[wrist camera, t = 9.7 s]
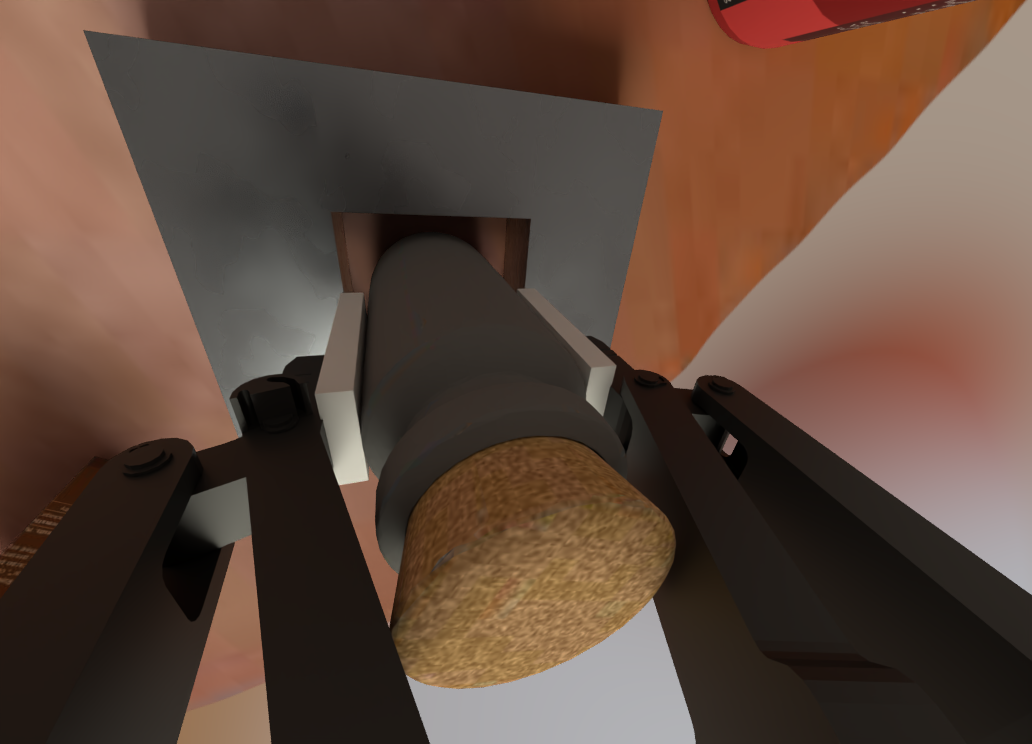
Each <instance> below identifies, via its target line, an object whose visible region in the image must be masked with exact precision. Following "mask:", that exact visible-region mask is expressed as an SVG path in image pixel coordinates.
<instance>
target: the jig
mask: <svg viewBox="0 0 1032 744" xmlns="http://www.w3.org/2000/svg"><path fill="white" fill-rule="evenodd" d="M83 31H84V33H85V36H86V39H87V41H88V44H89V47H90V49H91V52H92V54H93V57H94V60H95V62H96V65H97V67H98V70H99V73H100V75H101V78H102V81H103V83H104V86H105V88H106V91H107V94H108V96H109V99H110V102H111V104H112V107H113V109H114V112H115V115H116V117H117V120H118V123H119V125H120V128H121V130H122V133H123V136H124V138H125V141H126V144H127V146H128V149H129V151H130V154H131V157H132V159H133V162H134V165H135V167H136V170H137V172H138V175H139V178H140V180H141V183H142V185H143V188H144V191H145V193H146V196H147V199H148V201H149V204H150V206H151V209H152V212H153V214H154V217H155V220H156V222H157V225H158V227H159V230H160V233H161V235H162V238H163V241H164V243H165V246H166V248H167V251H168V254H169V256H170V259H171V262H172V264H173V267H174V269H175V272H176V275H177V277H178V280H179V282H180V285H181V288H182V290H183V293H184V296H185V298H186V301H187V303H188V306H189V309H190V311H191V314H192V317H193V319H194V322H195V324H196V327H197V330H198V332H199V335H200V338H201V340H202V343H203V345H204V348H205V351H206V353H207V356H208V359H209V361H210V364H211V366H212V369H213V372H214V374H215V377H216V379H217V382H218V385H219V387H220V390H221V393H222V395H223V398H224V400H225V403H226V406H227V408H228V411H229V414H230V416H231V419H232V421H233V424H234V427H235V429H236V432H237V435H238V437H239V438H240V437H242V432H241V429H240V427H239V424H238V421H237V419H236V416H235V413H234V410H233V408H232V405H231V402H230V400H229V399H230V396H231V393H232V392H233V391H234V390H235V389H236V388H237V387H239V386H240V385H242V384H244V383H246V382H248V381H250V380H252V379H255V378H259V377H262V376H266V375H274V374H282V372H283V370H284V368H285V366H286V365H287V364H288V363H289V362H291V361H292V360H293V359H295V358H296V357H298V356H313V355H325V352H326V348H327V344H328V340H329V336H330V332H331V328H332V325H333V321H334V317H335V313H336V309H337V305H338V301H339V297H340V293H353V289H352V282H351V275H350V268H349V262H348V255H347V248H346V241H345V235H344V228H343V221H342V214H341V212H352V213H380V214H409V215H438V216H467V217H496V218H507V227H506V244H505V261H504V278H503V279H504V280H505V281H506V282H507V283H508V284H509V285H510V286H511V288H512V289H513V290H514V291H515V292H516V293H517V289H530V288H535V289H536V290H537V291H538V292H539V293H540V294H541V295H542V296H543V297H544V298H545V299H546V300H547V301H548V302H549V303H551V304H552V305H553V306H554V307H555V308H556V309H557V310H558V311H559V312H560V313H561V314H562V315H563V316H564V317H565V318H567V319H568V320H569V321H570V322H571V323H572V324H573V325H574V326H575V327H576V328H577V329H578V330H579V331H580V332H581V333H582V334H584V335H585V336H592V337H594V338H596V339H598V340H600V341H603V342H604V343H605V344H606V345H607V346H608V347H609V348H610V346H611V342H612V337H613V333H614V328H615V324H616V319H617V315H618V310H619V306H620V301H621V297H622V292H623V288H624V283H625V279H626V274H627V270H628V265H629V261H630V257H631V252H632V248H633V243H634V239H635V234H636V230H637V225H638V221H639V216H640V212H641V207H642V203H643V198H644V194H645V189H646V185H647V180H648V176H649V171H650V167H651V162H652V158H653V153H654V149H655V145H656V140H657V136H658V131H659V127H660V122H661V118H662V113H663V111H659V110H652V109H645V108H638V107H631V106H623V105H616V104H609V103H602V102H595V101H588V100H580V99H573V98H566V97H559V96H552V95H545V94H537V93H530V92H523V91H516V90H509V89H501V88H494V87H487V86H480V85H473V84H466V83H458V82H451V81H444V80H437V79H430V78H422V77H415V76H408V75H401V74H394V73H387V72H379V71H372V70H365V69H358V68H351V67H343V66H336V65H329V64H322V63H315V62H308V61H300V60H293V59H286V58H279V57H272V56H264V55H257V54H250V53H243V52H236V51H229V50H221V49H214V48H207V47H200V46H193V45H185V44H178V43H171V42H164V41H157V40H150V39H142V38H135V37H128V36H121V35H114V34H106V33H99V32H92V31H85V30H83Z"/></svg>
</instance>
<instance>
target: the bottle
mask: <svg viewBox="0 0 1032 744" xmlns="http://www.w3.org/2000/svg"><path fill="white" fill-rule="evenodd" d="M361 440H362V447H363V451H364V454H365V457H366V460H367V463H368V464H369V466H370V468H371V470H372V471H373V473H374V474H375V475H376V477H377V478H378V479H379V482H378V486H377V490H376V512H375V525H376V536H377V540H378V544H379V548H380V551H381V553H382V555H383V557H384V558H385V560H386V561H387V563H388V564H389V565H390V567H391V568H392V569H393V570H394V571H395V572H397V573H398V574H399V576H398V581H397V587H396V593H395V598H394V604H393V610H392V615H391V621H390V627H389V629H390V632H391V635H392V638H393V640H394V643H395V646H396V649H397V652H398V655H399V657H400V660H401V663H402V666H403V669H404V672H405V674H406V675H408V676H409V677H411V678H413V679H414V680H416V681H419V682H421V683H424V684H427V685H432V686H438V687H445V688H456V689H463V688H480V687H486V686H492V685H497V684H502V683H508V682H512V681H515V680H518V679H521V678H524V677H528V676H531V675H534V674H537V673H540V672H543V671H545V670H547V669H549V668H552V667H554V666H556V665H559V664H561V663H563V662H565V661H568V660H570V659H572V658H574V657H576V656H577V655H579V654H581V653H583V652H584V651H586V650H588V649H590V648H591V647H593V646H595V645H597V644H598V643H600V642H602V641H603V640H604V639H606V638H607V637H609V636H610V635H611V634H613V633H614V632H615V631H616V630H618V629H620V628H621V627H623V626H624V625H625V624H626V623H627V622H628V621H629V620H630V619H632V618H633V617H634V616H635V615H636V614H637V613H638V612H639V611H641V609H642V608H643V607H644V606H645V605H646V604H647V603H648V602H649V601H650V599H652V597H653V596H654V595H655V594H656V592H657V591H658V589H659V588H660V586H661V585H662V583H663V582H664V580H665V579H666V577H667V575H668V572H669V570H670V568H671V566H672V564H673V561H674V555H675V548H676V538H675V532H674V529H673V527H672V525H671V523H670V522H669V520H668V518H667V516H666V515H665V514H664V513H663V512H662V511H661V510H660V509H659V508H658V507H656V506H655V505H654V504H653V503H652V502H651V501H650V500H648V499H647V498H646V497H645V496H644V495H643V494H642V493H641V492H639V491H638V490H637V489H636V488H635V487H634V486H633V485H631V484H630V483H629V482H628V481H627V459H626V454H625V450H624V448H623V446H622V444H621V441H620V439H619V437H618V435H617V434H616V433H615V431H614V430H613V429H612V428H611V426H610V425H609V424H608V423H607V421H606V420H605V419H604V417H603V416H602V415H601V414H600V413H599V412H598V411H597V410H596V409H595V408H594V407H593V406H592V405H591V404H590V403H589V402H588V401H586V391H585V386H584V381H583V377H582V374H581V372H580V370H579V368H578V366H577V365H576V363H575V361H574V360H573V358H572V357H571V355H570V353H569V352H568V351H567V350H566V349H565V347H564V346H563V345H562V344H561V343H560V341H559V340H558V339H557V338H556V337H555V336H554V335H553V333H552V332H551V331H550V330H549V329H548V328H547V327H546V326H545V324H544V323H543V322H542V321H541V320H540V319H539V318H538V317H537V315H536V314H535V313H534V312H533V311H532V310H531V309H530V308H529V307H528V305H527V304H526V303H525V302H524V301H523V300H522V299H521V298H520V296H519V295H518V294H517V293H516V292H515V291H514V290H513V289H512V288H511V286H510V285H509V284H508V283H507V282H506V281H505V280H504V279H503V278H502V276H501V275H500V274H499V273H498V272H497V271H496V270H495V269H494V268H493V267H492V266H491V265H490V264H489V262H488V261H487V260H486V259H485V258H484V257H483V256H482V255H481V254H480V253H479V252H478V251H477V250H476V249H475V248H473V247H472V246H471V245H470V244H468V243H467V242H465V241H463V240H461V239H460V238H458V237H456V236H453V235H449V234H446V233H440V232H421V233H417V234H413V235H410V236H407V237H405V238H403V239H401V240H399V241H398V242H396V243H395V244H393V245H392V246H391V247H390V248H389V249H388V250H387V251H385V253H384V254H383V255H382V257H381V258H380V259H379V261H378V263H377V265H376V267H375V269H374V272H373V274H372V278H371V283H370V290H369V301H368V314H367V327H366V339H365V352H364V365H363V383H362V402H361Z"/></svg>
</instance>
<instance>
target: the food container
mask: <svg viewBox="0 0 1032 744" xmlns="http://www.w3.org/2000/svg"><path fill="white" fill-rule="evenodd" d="M108 461H109V460H105V459H102V458H98V457H94V458H93V459H92V460H91V461H90V462H89V463H88V464H87V465H86V466H85V467H84V468H83V469H82V470H81V471H80V473H79V474H78V475H77V476H76V477H75V478H74V479H73V480H72V481H71V482H70V483H69V484H68V485H67V486H66V487H65V488H64V489H63V490H62V491H61V492H60V493H59V494H58V495H57V496H56V497H55V499H54V500H53V501H52V502H51V503H50V504H49V505H48V506H47V507H46V508H45V509H44V510H43V511H42V512H41V513H40V514H39V515H38V516H37V517H36V518H35V519H34V520H33V521H32V522H31V524H30V525H29V526H28V527H27V528H26V529H25V530H24V531H23V532H22V533H21V534H20V535H19V536H18V537H17V538H16V539H15V540H14V541H13V542H12V543H11V544H10V545H9V546H8V547H7V548H6V550H5V551H4V552H3V553H2V554H1V555H0V599H1V597H2V596H3V595H4V593H5V592H6V591H7V589H8V588H9V587H10V585H11V584H12V583H13V582H14V580H15V579H16V578H17V576H18V575H19V574H20V572H21V571H22V570H23V569H24V567H25V566H26V565H27V563H28V562H29V561H30V559H31V558H32V557H33V555H34V554H35V553H36V552H37V550H38V549H39V548H40V546H41V545H42V544H43V542H44V541H45V540H46V539H47V537H48V536H49V535H50V533H51V532H52V531H53V529H54V528H55V527H56V525H57V524H58V523H59V522H60V520H61V519H62V518H63V516H64V515H65V514H66V512H67V511H68V510H69V509H70V507H71V506H72V505H73V503H74V502H75V501H76V499H77V498H78V497H79V495H80V494H81V493H82V492H83V490H84V489H85V488H86V486H87V485H88V484H89V482H90V481H91V480H92V479H93V477H94V476H95V475H96V473H97V472H98V471H99V469H100V468H101V467H103V466H104V465H105V464H106V463H107V462H108Z"/></svg>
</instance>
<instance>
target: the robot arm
mask: <svg viewBox="0 0 1032 744" xmlns="http://www.w3.org/2000/svg"><path fill="white" fill-rule="evenodd" d="M517 294H518V295H519V296H520V298H521V299H522V300H523V301H524V302H525V303H526V304H527V305H528V307H529V308H530V309H531V310H532V311H533V312H534V313H535V314H536V315H537V317H538V318H539V319H540V320H541V321H542V322H543V323H544V324H545V326H546V327H547V328H548V329H549V330H550V331H551V332H552V333H553V335H554V336H555V337H556V338H557V339H558V340H559V341H560V343H561V344H562V345H563V346H564V347H565V349H566V350H567V351H568V352H569V353H570V355H571V357H572V358H573V360H574V361H575V363H576V365H577V366H578V368H579V370H580V372H581V374H582V377H583V381H584V386H585V391H586V401H588V402H589V403H590V404H591V405H592V406H593V407H594V408H595V409H596V410H597V411H598V412H599V413H600V414H601V415H602V416H603V417H604V419H605V420H606V421H607V423H608V424H609V425H610V426H611V428H612V429H613V430H614V431H615V433H616V434H617V435H618V437H619V439H620V441H621V444H622V446H623V448H624V450H625V454H626V459H627V481H628V482H629V483H630V484H631V485H633V486H634V487H635V488H636V489H637V490H638V491H639V492H641V493H642V494H643V495H644V496H645V497H646V498H647V499H648V500H650V501H651V502H652V503H653V504H654V505H655V506H656V507H658V508H659V509H660V510H661V511H662V512H663V513H664V514H665V515H666V516H667V518H668V520H669V522H670V523H671V525H672V527H673V529H674V532H675V538H676V548H675V555H674V561H673V564H672V566H671V568H670V570H669V572H668V575H667V577H666V579H665V580H664V582H663V583H662V585H661V586H660V588H659V589H658V591H657V592H656V594H655V595H654V596H653V600H654V603H655V606H656V609H657V612H658V615H659V618H660V622H661V625H662V628H663V631H664V634H665V638H666V641H667V644H668V647H669V650H670V653H671V657H672V659H673V663H674V666H675V669H676V672H677V676H678V679H679V682H680V685H681V688H682V691H683V694H684V698H685V701H686V704H687V707H688V710H689V714H690V717H691V720H692V724H693V728H694V732H695V739H696V744H1032V595H1031V594H1029V593H1028V592H1027V591H1025V590H1024V589H1022V588H1021V587H1020V586H1018V585H1017V584H1015V583H1014V582H1013V581H1011V580H1010V579H1008V578H1007V577H1006V576H1004V575H1003V574H1002V573H1000V572H999V571H997V570H996V569H995V568H993V567H992V566H990V565H989V564H988V563H986V562H985V561H983V560H982V559H980V558H979V557H978V556H976V555H975V554H974V553H972V552H971V551H969V550H968V549H967V548H965V547H964V546H963V545H961V544H960V543H958V542H957V541H956V540H954V539H953V538H951V537H950V536H949V535H947V534H946V533H944V532H943V531H942V530H940V529H939V528H937V527H936V526H935V525H933V524H932V523H931V522H929V521H928V520H926V519H925V518H924V517H922V516H921V515H920V514H918V513H917V512H915V511H914V510H913V509H911V508H910V507H908V506H907V505H905V504H904V503H903V502H901V501H900V500H899V499H897V498H896V497H894V496H893V495H892V494H890V493H889V492H888V491H886V490H885V489H883V488H882V487H881V486H879V485H878V484H876V483H875V482H874V481H872V480H871V479H869V478H868V477H867V476H865V475H864V474H863V473H861V472H860V471H858V470H857V469H855V468H854V467H853V466H851V465H850V464H849V463H847V462H846V461H844V460H843V459H842V458H840V457H839V456H837V455H836V454H835V453H833V452H832V451H831V450H829V449H828V448H826V447H825V446H823V445H822V444H821V443H819V442H818V441H817V440H815V439H814V438H812V437H811V436H810V435H808V434H807V433H806V432H804V431H803V430H801V429H800V428H799V427H797V426H796V425H794V424H793V423H792V422H790V421H789V420H787V419H786V418H784V417H783V416H782V415H780V414H779V413H778V412H776V411H775V410H773V409H772V408H771V407H769V406H768V405H767V404H765V403H764V402H762V401H761V400H760V399H758V398H757V397H755V396H754V395H753V394H751V393H750V392H749V391H747V390H746V389H744V388H743V387H742V386H740V385H738V384H737V383H735V382H733V381H731V380H728V379H727V378H725V377H721V376H720V377H719V376H716V375H714V376H708V375H705V376H702V377H699V378H698V379H697V381H696V383H695V386H694V389H693V390H689V389H679V388H673V386H672V385H671V383H670V382H669V381H668V380H667V379H666V378H665V377H663V376H661V375H659V374H657V373H654V372H651V371H646V370H634V369H633V368H632V367H631V366H630V365H628V364H627V363H626V362H625V361H624V360H623V359H622V358H621V357H619V356H617V354H616V353H615V352H614V351H613V350H610V348H609V347H608V346H607V345H606V344H605V343H604V342H603V341H600V340H598V339H596V338H594V337H592V336H585V335H584V334H582V333H581V332H580V331H579V330H578V329H577V328H576V327H575V326H574V325H573V324H572V323H571V322H570V321H569V320H568V319H567V318H565V317H564V316H563V315H562V314H561V313H560V312H559V311H558V310H557V309H556V308H555V307H554V306H553V305H552V304H551V303H549V302H548V301H547V300H546V299H545V298H544V297H543V296H542V295H541V294H540V293H539V292H538V291H537V290H536V289H535V288H530V289H517ZM366 327H367V315H366V308H365V300H364V293H340V297H339V301H338V305H337V309H336V313H335V317H334V321H333V325H332V328H331V332H330V336H329V340H328V344H327V348H326V352H325V355H313V356H298V357H296V358H295V359H293V360H292V361H291V362H289V363H288V364H287V365H286V366H285V368H284V370H283V372H282V374H274V375H266V376H262V377H259V378H255V379H252V380H250V381H248V382H246V383H244V384H242V385H240V386H239V387H237V388H236V389H235V390H234V391H233V392H232V393H231V396H230V399H229V400H230V402H231V405H232V408H233V410H234V413H235V416H236V419H237V421H238V424H239V427H240V429H241V432H242V437H240V438H238V439H236V440H233V441H230V442H227V443H225V444H221V445H218V446H215V447H211V448H208V449H204V450H201V451H198V452H196V451H195V449H194V447H193V446H192V445H191V443H190V442H189V441H187V440H183V439H179V438H165V439H158V440H154V441H149V442H145V443H141V444H138V445H137V446H133V447H131V448H129V449H127V450H125V451H123V452H122V453H120V454H118V455H116V456H115V457H113V458H111V459H110V460H109V461H108V462H107V463H106V464H105V465H104V466H103V467H101V468H100V469H99V471H98V472H97V473H96V475H95V476H94V477H93V479H92V480H91V481H90V482H89V484H88V485H87V486H86V488H85V489H84V490H83V492H82V493H81V494H80V495H79V497H78V498H77V499H76V501H75V502H74V503H73V505H72V506H71V507H70V509H69V510H68V511H67V512H66V514H65V515H64V516H63V518H62V519H61V520H60V522H59V523H58V524H57V525H56V527H55V528H54V529H53V531H52V532H51V533H50V535H49V536H48V537H47V539H46V540H45V541H44V542H43V544H42V545H41V546H40V548H39V549H38V550H37V552H36V553H35V554H34V555H33V557H32V558H31V559H30V561H29V562H28V563H27V565H26V566H25V567H24V569H23V570H22V571H21V572H20V574H19V575H18V576H17V578H16V579H15V580H14V582H13V583H12V584H11V585H10V587H9V588H8V589H7V591H6V592H5V593H4V595H3V596H2V597H1V599H0V744H177V740H178V737H179V734H180V730H181V727H182V723H183V720H184V716H185V713H186V709H187V706H188V703H189V699H190V696H191V692H192V689H193V685H194V682H195V678H196V675H197V672H198V668H199V665H200V661H201V658H202V654H203V651H204V647H205V644H206V641H207V637H208V634H209V630H210V627H211V623H212V620H213V616H214V613H215V610H216V606H217V603H218V599H219V596H220V592H221V589H222V585H223V582H224V578H225V575H226V572H227V568H228V565H229V561H230V558H231V554H232V551H233V547H234V544H235V541H237V540H240V539H242V538H244V537H247V536H249V535H252V545H253V555H254V565H255V576H256V586H257V597H258V607H259V618H260V628H261V639H262V649H263V660H264V670H265V681H266V691H267V701H268V712H269V723H270V733H271V744H430V742H429V740H428V737H427V734H426V731H425V728H424V726H423V723H422V720H421V717H420V714H419V711H418V708H417V706H416V703H415V700H414V697H413V694H412V692H411V689H410V686H409V683H408V680H407V677H406V674H405V672H404V669H403V666H402V663H401V660H400V657H399V655H398V652H397V649H396V646H395V643H394V640H393V638H392V635H391V632H390V629H389V627H388V623H387V621H386V618H385V615H384V612H383V609H382V606H381V604H380V601H379V598H378V595H377V592H376V589H375V587H374V584H373V581H372V578H371V575H370V572H369V570H368V567H367V564H366V561H365V558H364V555H363V553H362V550H361V547H360V544H359V541H358V538H357V536H356V533H355V530H354V527H353V524H352V521H351V519H350V516H349V513H348V510H347V507H346V504H345V502H344V499H343V496H342V493H341V490H340V487H339V485H343V484H349V483H355V482H361V481H367V480H369V464H368V463H367V460H366V457H365V454H364V451H363V447H362V440H361V402H362V383H363V365H364V352H365V339H366ZM729 434H731V435H732V436H733V437H734V438H736V439H737V440H738V442H737V444H736V446H735V448H734V450H733V452H732V454H731V455H728V454H726V453H725V452H724V451H723V450H722V449H723V446H724V444H725V442H726V440H727V438H728V436H729Z"/></svg>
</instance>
